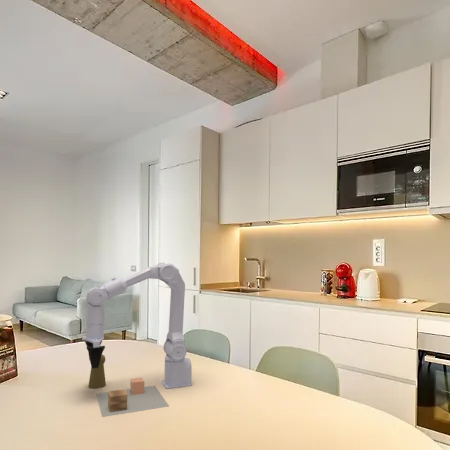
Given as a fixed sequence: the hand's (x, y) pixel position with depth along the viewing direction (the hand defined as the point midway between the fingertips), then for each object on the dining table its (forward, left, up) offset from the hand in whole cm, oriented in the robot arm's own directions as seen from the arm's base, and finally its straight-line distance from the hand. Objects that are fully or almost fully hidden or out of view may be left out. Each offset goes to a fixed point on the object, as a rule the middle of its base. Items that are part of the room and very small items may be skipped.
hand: (94, 364), depth 129 cm
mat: (-11, +9, -10) cm, 17 cm away
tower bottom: (-6, +14, -10) cm, 18 cm away
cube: (-14, +3, -10) cm, 17 cm away
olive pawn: (-2, -9, -10) cm, 14 cm away
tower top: (-6, +14, -8) cm, 17 cm away
